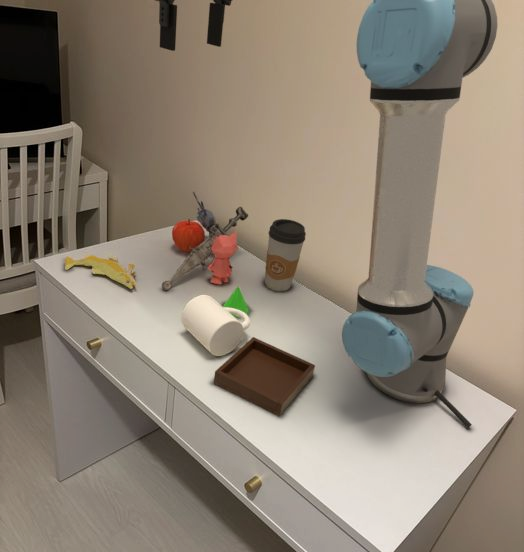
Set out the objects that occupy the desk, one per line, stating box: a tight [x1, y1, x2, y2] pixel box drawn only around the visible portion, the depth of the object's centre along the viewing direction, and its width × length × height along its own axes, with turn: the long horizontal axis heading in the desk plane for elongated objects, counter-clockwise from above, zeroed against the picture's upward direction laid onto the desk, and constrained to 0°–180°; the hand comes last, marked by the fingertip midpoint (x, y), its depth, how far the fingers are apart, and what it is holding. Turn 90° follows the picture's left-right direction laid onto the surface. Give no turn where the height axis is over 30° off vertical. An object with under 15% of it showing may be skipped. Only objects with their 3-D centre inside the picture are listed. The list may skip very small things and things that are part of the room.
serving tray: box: [213, 336, 316, 417], centre depth 100 cm, size 14×14×3 cm
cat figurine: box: [207, 230, 239, 285], centre depth 123 cm, size 7×7×12 cm
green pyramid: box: [222, 285, 249, 318], centre depth 117 cm, size 6×6×6 cm
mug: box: [180, 294, 251, 357], centre depth 107 cm, size 12×10×8 cm
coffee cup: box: [264, 218, 306, 292], centre depth 125 cm, size 8×8×15 cm
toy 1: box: [64, 253, 138, 290], centre depth 121 cm, size 20×3×10 cm
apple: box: [171, 218, 206, 253], centre depth 134 cm, size 8×8×8 cm
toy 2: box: [192, 191, 217, 232], centre depth 136 cm, size 15×4×15 cm
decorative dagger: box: [161, 206, 249, 291], centre depth 127 cm, size 7×2×30 cm
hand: (191, 47), depth 97 cm, fingers open, 13 cm apart
